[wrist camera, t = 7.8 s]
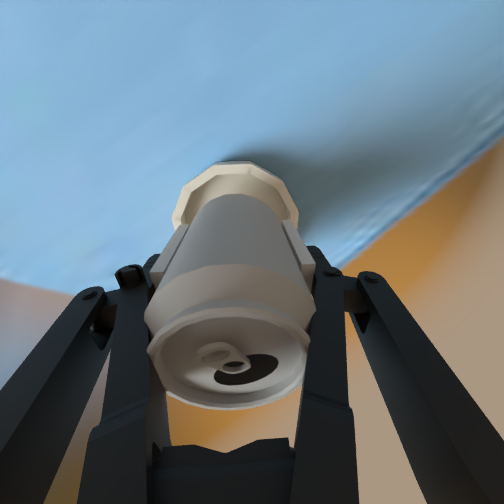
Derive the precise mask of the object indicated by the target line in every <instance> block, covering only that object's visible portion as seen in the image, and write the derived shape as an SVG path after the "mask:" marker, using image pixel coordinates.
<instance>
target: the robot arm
mask: <svg viewBox="0 0 504 504" xmlns="http://www.w3.org/2000/svg"><path fill="white" fill-rule="evenodd" d="M281 226H282V229H283V231H284V233H285V236H286V238H287V240H288V243H289V245H290V247H291V250H292V252H293V254H294V256H295V259H296V261H297V263H298V266H299V268H300V270H301V273H302V275H303V277H304V280H305V282H306V284H307V287H308V289H309V291H310V294H312V296H313V299H314V300H313V301H314V303H315V307H316V312H315V313H314V314H313V316H312V322H311V329H310V336H309V337H310V340H311V342H310V343H309V346H308V353H307V358H306V365H305V371H304V377H303V383H302V391H301V398H300V406H299V414H298V421H297V429H296V436H295V443H294V448H292V447H290V446H289V440H288V438H275V439H262V440H256V441H254V442H252V443H249V444H247V445H245V446H242V447H240V448H238V449H235V450H233V451H230V452H228V453H222V452H218V451H215V450H211V449H208V448H204V447H200V446H197V445H182V446H172V445H171V440H170V434H169V423H168V413H167V402H166V392H165V389H164V387H163V385H162V382H161V380H160V378H159V375H158V373H157V371H156V369H155V367H154V365H153V363H152V360H151V358H150V356H149V354H148V353H147V347H148V345H149V344H150V342H151V341H152V340H151V336H150V332H149V328H148V325H147V324H146V322H145V321H144V312H145V310H146V309H147V307H148V305H149V303H150V301H151V299H152V297H153V295H154V293H155V291H156V290H157V288H158V286H159V284H160V282H161V280H162V278H163V276H164V274H165V273H166V271H167V269H168V267H169V265H170V263H171V261H172V259H173V257H174V255H175V254H176V252H177V250H178V248H179V246H180V244H181V242H182V240H183V238H184V237H185V235H186V233H187V231H188V229H189V227H190V226H189V224H184V225H179V227H178V228H177V230H176V231H175V233H174V234H173V236H172V237H171V239H170V241H169V242H168V244H167V245H166V247H165V248H164V250H163V251H162V253H161V254H154V255H153V256H151V257H150V258H149V259H148V260H147V262H146V264H144V266H143V267H141V266H140V265H136V264H134V265H128V266H125V267H123V268H121V269H119V270H118V271H116V273H115V277H116V279H117V281H118V284H119V286H120V289H117V290H113V291H109V292H105V291H104V289H103V287H100V286H97V287H90V288H87V289H85V290H83V291H81V292H80V293H78V294H77V295H76V296H75V297H74V298H73V300H72V301H71V302H70V303H69V305H68V306H67V307H66V308H65V310H64V311H63V312H62V314H61V315H60V316H59V317H58V319H57V320H56V321H55V322H54V324H53V325H52V326H51V327H50V329H49V330H48V331H47V332H46V334H45V335H44V336H43V338H42V339H41V340H40V341H39V343H38V344H37V345H36V346H35V348H34V349H33V350H32V351H31V353H30V354H29V355H28V356H27V358H26V359H25V360H24V361H23V363H22V364H21V365H20V366H19V368H18V369H17V370H16V371H15V373H14V374H13V375H12V377H11V378H10V379H9V380H8V382H7V383H6V384H5V385H4V387H3V388H2V389H1V390H0V504H43V503H44V500H45V498H46V496H47V493H48V491H49V489H50V487H51V484H52V482H53V480H54V478H55V475H56V473H57V471H58V468H59V466H60V464H61V462H62V459H63V457H64V455H65V452H66V450H67V448H68V446H69V443H70V441H71V439H72V436H73V434H74V432H75V429H76V427H77V425H78V422H79V420H80V418H81V416H82V414H83V411H84V409H85V407H86V404H87V402H88V400H89V398H90V395H91V393H92V391H93V388H94V386H95V384H96V381H97V379H98V377H99V375H100V372H101V370H102V368H103V365H104V363H105V361H106V359H107V356H108V354H109V352H110V350H111V353H110V361H109V368H108V374H107V382H106V389H105V396H104V403H103V409H102V417H101V421H100V423H99V425H97V426H96V427H94V428H93V429H92V431H91V433H90V436H89V439H88V443H87V449H86V455H85V460H84V466H83V471H82V477H81V483H80V488H79V494H78V500H77V504H359V493H358V478H357V477H358V476H357V460H356V444H355V428H354V416H353V411H352V409H351V408H350V407H349V401H348V380H347V361H346V360H347V358H346V336H345V313H344V311H345V312H349V315H350V317H351V319H352V322H353V324H354V327H355V329H356V332H357V334H358V337H359V339H360V342H361V344H362V346H363V349H364V351H365V354H366V356H367V359H368V361H369V364H370V366H371V369H372V371H373V373H374V376H375V379H376V381H377V384H378V386H379V388H380V391H381V393H382V396H383V398H384V401H385V403H386V406H387V408H388V411H389V413H390V416H391V418H392V420H393V423H394V426H395V428H396V430H397V433H398V435H399V438H400V440H401V443H402V445H403V448H404V450H405V453H406V455H407V457H408V460H409V463H410V465H411V468H412V470H413V472H414V475H415V477H416V480H417V482H418V484H419V487H420V489H421V491H422V493H423V495H424V498H425V500H426V502H427V504H504V440H503V439H502V438H501V436H500V435H499V433H498V432H497V431H496V429H495V428H494V427H493V425H492V424H491V423H490V421H489V420H488V418H487V417H486V416H485V414H484V413H483V412H482V410H481V409H480V408H479V406H478V405H477V404H476V402H475V401H474V400H473V398H472V397H471V396H470V394H469V393H468V391H467V390H466V389H465V387H464V386H463V385H462V383H461V382H460V380H459V379H458V378H457V376H456V375H455V374H454V372H453V371H452V370H451V368H450V367H449V366H448V364H447V363H446V362H445V360H444V359H443V357H442V356H441V355H440V353H439V352H438V351H437V349H436V348H435V347H434V345H433V344H432V343H431V341H430V340H429V339H428V337H427V336H426V334H425V333H424V332H423V331H422V329H421V328H420V326H419V325H418V324H417V322H416V321H415V319H414V318H413V317H412V315H411V314H410V313H409V311H408V310H407V309H406V307H405V306H404V305H403V303H402V302H401V300H400V299H399V298H398V296H397V295H396V294H395V292H394V291H393V290H392V288H391V287H390V286H389V284H388V283H387V281H386V280H385V279H384V278H383V277H382V276H381V275H379V274H377V273H374V272H369V271H365V272H360V273H359V275H358V277H357V278H355V277H348V276H344V275H343V274H342V272H341V271H340V270H339V269H337V268H335V267H331V265H330V264H329V262H328V261H327V259H326V258H325V256H324V255H323V254H322V252H321V250H320V249H319V248H317V247H316V246H306V245H305V244H304V242H303V240H302V238H301V237H300V235H299V233H298V231H297V230H296V228H295V226H294V224H293V223H292V221H291V220H281Z"/></svg>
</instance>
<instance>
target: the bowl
mask: <svg viewBox="0 0 504 504" xmlns="http://www.w3.org/2000/svg"><path fill="white" fill-rule="evenodd" d="M225 194H244V195H248V196H252V197H256V198H257V199H259V200H260V201H262V202H264V203H265V204H267V205H268V206H269V207H270V208H271V209H272V211H273V212H274V213H275V215H276V216H277V217H278V219H279V222H280V224H281V220H291V221H292V223H293V224H294V226H295V228H296V230H297V228H298V216H299V211H298V209H297V207H296V205H295V203H294V201H293V199H292V198H291V196H290V194H289V192H288V190H287V188H286V186H285V184H284V182H283V181H282V180H281V179H280V178H279V177H277V176H276V175H274V174H272V173H271V172H269V171H268V170H266V169H265V168H263V167H260V166H258V165H256V164H255V163H253V162H251V161H227V162H216V163H214V164H212V165H211V166H210V167H208V168H207V169H205V170H203V171H202V172H201V173H200V174H198V175H197V176H195V177H194V178H193V179H191V180H190V181H188V182H187V183H186V184H185V185H184V186H183V188H182V191H181V194H180V196H179V199H178V202H177V205H176V207H175V210H174V213H173V215H172V221H173V225H174V229H175V231H176V230H177V228H178V227H179V225H184V224H189V226H190V225H191V223H192V221H193V220H194V218H195V216H196V214H197V212H198V211H199V209H201V208H202V207H203V206H204V205H205V204H206V203H208V202H209V201H210V200H212V199H214V198H217V197H220V196H222V195H225Z"/></svg>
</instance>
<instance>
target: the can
mask: <svg viewBox="0 0 504 504" xmlns="http://www.w3.org/2000/svg"><path fill="white" fill-rule="evenodd" d="M315 312H316V307H315V303H314V301H313V298H312V296H311V294H310V291H309V289H308V287H307V284H306V282H305V280H304V277H303V275H302V273H301V270H300V268H299V266H298V263H297V261H296V259H295V256H294V254H293V252H292V250H291V247H290V245H289V243H288V240H287V238H286V236H285V233H284V231H283V229H282V226H281V224H280V222H279V219H278V217H277V216H276V215H275V213H274V212H273V211H272V209H271V208H270V207H269V206H268V205H267V204H265V203H264V202H262V201H260V200H259V199H257V198H256V197H252V196H248V195H244V194H225V195H222V196H220V197H217V198H214V199H212V200H210V201H209V202H208V203H206V204H205V205H204V206H203V207H202V208H201V209H199V211H198V212H197V214H196V216H195V218H194V220H193V221H192V223H191V225H190V227H189V229H188V231H187V233H186V235H185V237H184V238H183V240H182V242H181V244H180V246H179V248H178V250H177V252H176V254H175V255H174V257H173V259H172V261H171V263H170V265H169V267H168V269H167V271H166V273H165V274H164V276H163V278H162V280H161V282H160V284H159V286H158V288H157V290H156V291H155V293H154V295H153V297H152V299H151V301H150V303H149V305H148V307H147V309H146V310H145V312H144V321H145V322H146V324H147V325H148V328H149V332H150V336H151V340H152V341H151V342H150V344H149V345H148V347H147V353H148V354H149V356H150V358H151V360H152V363H153V365H154V367H155V369H156V371H157V373H158V375H159V378H160V380H161V382H162V385H163V387H164V389H165V392H166V393H167V394H168V395H170V396H172V397H174V398H176V399H178V400H180V401H182V402H184V403H186V404H190V405H194V406H198V407H202V408H206V409H219V410H237V409H250V408H254V407H258V406H262V405H267V404H270V403H272V402H274V401H277V400H279V399H281V398H283V397H286V396H288V395H289V394H290V393H292V392H293V391H294V390H295V389H297V388H298V387H300V386H301V385H302V383H303V377H304V371H305V365H306V358H307V353H308V346H309V343H310V342H311V340H310V337H309V336H310V329H311V322H312V316H313V314H314V313H315Z"/></svg>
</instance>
